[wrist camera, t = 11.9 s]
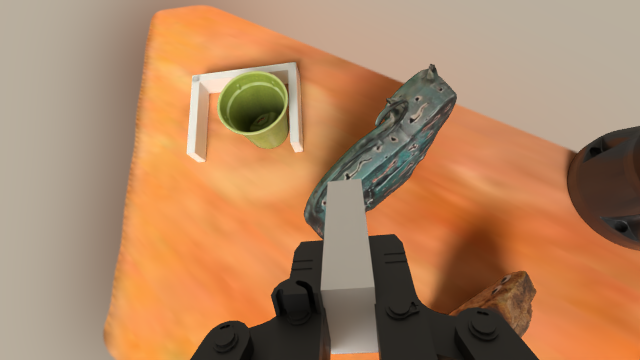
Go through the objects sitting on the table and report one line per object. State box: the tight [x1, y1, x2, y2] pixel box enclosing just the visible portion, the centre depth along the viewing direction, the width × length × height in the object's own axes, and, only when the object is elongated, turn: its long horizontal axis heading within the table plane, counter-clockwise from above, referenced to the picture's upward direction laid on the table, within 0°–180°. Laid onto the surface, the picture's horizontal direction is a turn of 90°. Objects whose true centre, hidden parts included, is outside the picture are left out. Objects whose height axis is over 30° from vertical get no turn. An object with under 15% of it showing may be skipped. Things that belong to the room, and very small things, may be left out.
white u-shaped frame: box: [187, 62, 303, 162], centre depth 51 cm, size 16×13×4 cm
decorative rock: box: [449, 271, 536, 338], centre depth 35 cm, size 12×6×11 cm, turn 126°
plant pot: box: [217, 71, 289, 149], centre depth 47 cm, size 9×9×9 cm
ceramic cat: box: [304, 64, 457, 240], centre depth 37 cm, size 20×6×20 cm, turn 132°
